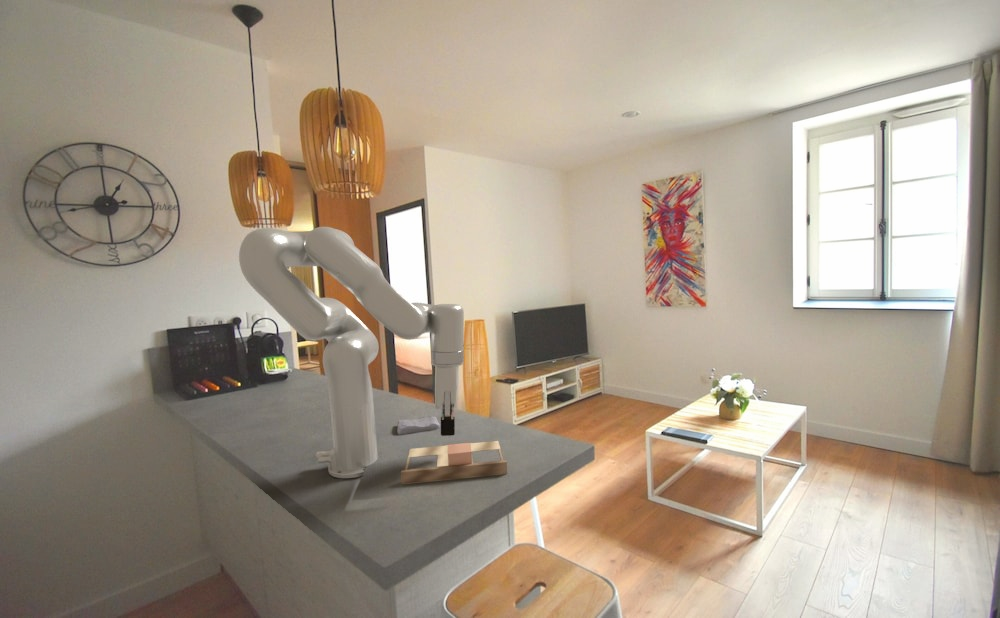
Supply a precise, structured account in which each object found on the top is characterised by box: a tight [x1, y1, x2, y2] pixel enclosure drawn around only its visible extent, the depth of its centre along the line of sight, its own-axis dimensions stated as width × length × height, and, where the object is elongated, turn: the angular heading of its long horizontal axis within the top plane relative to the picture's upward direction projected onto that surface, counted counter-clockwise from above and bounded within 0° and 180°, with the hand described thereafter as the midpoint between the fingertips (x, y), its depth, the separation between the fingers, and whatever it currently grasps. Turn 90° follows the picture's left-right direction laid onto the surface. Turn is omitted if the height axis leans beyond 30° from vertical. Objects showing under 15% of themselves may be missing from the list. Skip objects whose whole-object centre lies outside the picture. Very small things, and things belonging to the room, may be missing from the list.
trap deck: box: [400, 440, 508, 485], centre depth 99 cm, size 22×18×4 cm
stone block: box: [396, 415, 441, 436], centre depth 123 cm, size 12×5×10 cm
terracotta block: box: [447, 442, 473, 466], centre depth 94 cm, size 5×5×5 cm
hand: (447, 434), depth 102 cm, fingers closed
